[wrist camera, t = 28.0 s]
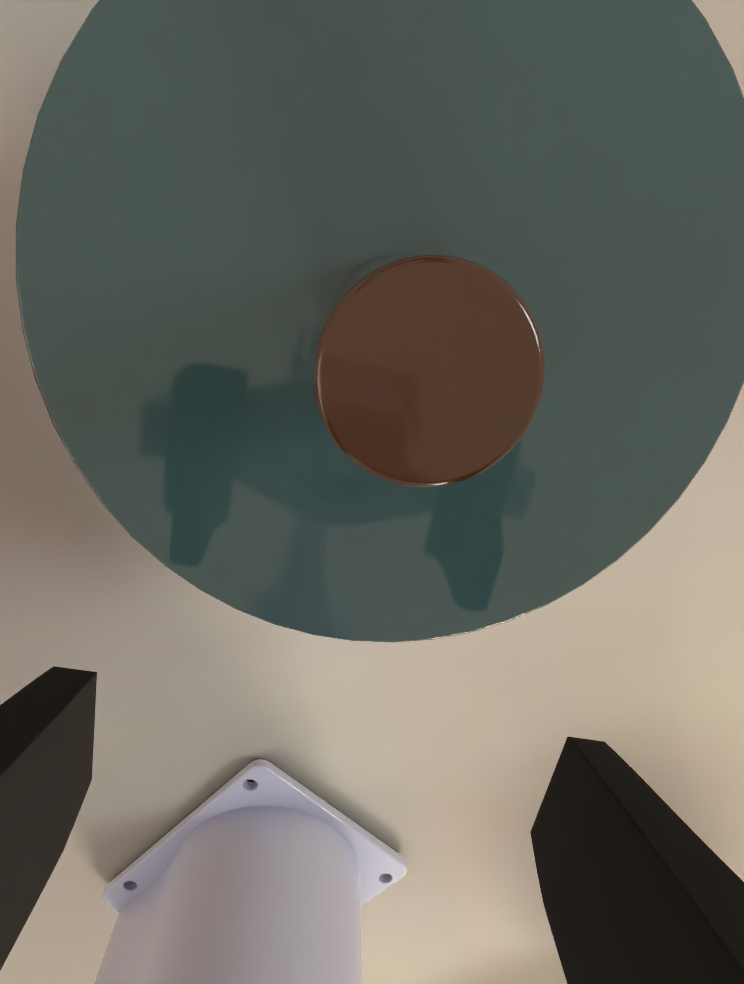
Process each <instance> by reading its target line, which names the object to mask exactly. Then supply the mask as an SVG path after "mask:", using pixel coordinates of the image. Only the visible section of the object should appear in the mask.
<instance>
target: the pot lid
mask: <svg viewBox="0 0 744 984" xmlns="http://www.w3.org/2000/svg"><path fill="white" fill-rule="evenodd" d="M16 282H17V290H18V298H19V305H20V313H21V321H22V328H23V333H24V337H25V341H26V345H27V349H28V353H29V356H30V360H31V364H32V368H33V372H34V376H35V380H36V382H37V385H38V387H39V390H40V392H41V395H42V397H43V400H44V402H45V405H46V407H47V410H48V412H49V415H50V417H51V420H52V422H53V425H54V427H55V429H56V431H57V432H58V434H59V436H60V438H61V440H62V442H63V443H64V445H65V447H66V449H67V451H68V453H69V454H70V456H71V458H72V460H73V462H74V464H75V466H76V467H77V469H78V470H79V471H80V473H81V474H82V476H83V477H84V478H85V480H86V481H87V483H88V484H89V486H90V487H91V488H92V490H93V491H94V493H95V494H96V495H97V497H98V498H99V500H100V501H101V502H102V504H103V505H104V506H105V507H106V508H107V509H108V511H109V512H110V513H111V514H112V515H113V516H114V517H115V518H116V519H117V521H118V522H119V523H120V524H121V525H122V526H123V527H124V528H125V529H126V531H127V532H128V533H129V534H130V535H131V536H132V537H133V538H134V539H135V540H136V541H137V542H139V543H140V544H141V545H142V546H143V547H144V548H145V549H147V550H148V551H149V552H150V553H151V554H152V555H153V556H155V557H156V558H157V559H158V560H159V561H160V562H161V563H163V564H164V565H165V566H166V567H168V568H169V569H170V570H172V571H173V572H175V573H176V574H178V575H179V576H181V577H182V578H184V579H185V580H186V581H188V582H189V583H191V584H192V585H194V586H195V587H197V588H198V589H199V590H201V591H203V592H205V593H207V594H209V595H211V596H212V597H214V598H216V599H218V600H220V601H222V602H224V603H226V604H227V605H229V606H231V607H233V608H235V609H237V610H239V611H242V612H245V613H247V614H250V615H252V616H255V617H257V618H260V619H262V620H265V621H267V622H270V623H272V624H275V625H279V626H283V627H286V628H290V629H294V630H297V631H301V632H305V633H309V634H312V635H318V636H325V637H331V638H338V639H345V640H351V641H372V642H404V641H417V640H431V639H437V638H443V637H448V636H454V635H459V634H464V633H470V632H474V631H477V630H480V629H484V628H487V627H490V626H494V625H497V624H500V623H504V622H507V621H510V620H513V619H515V618H517V617H520V616H522V615H524V614H527V613H529V612H531V611H534V610H536V609H538V608H541V607H543V606H545V605H548V604H549V603H551V602H553V601H555V600H557V599H558V598H560V597H562V596H564V595H566V594H567V593H569V592H571V591H573V590H574V589H576V588H578V587H580V586H582V585H583V584H585V583H586V582H588V581H589V580H590V579H592V578H593V577H595V576H596V575H597V574H599V573H600V572H602V571H603V570H604V569H606V568H607V567H609V566H610V565H611V564H613V563H614V562H616V561H617V560H618V559H619V558H620V557H622V556H623V555H624V554H625V553H626V552H627V551H628V550H629V549H630V548H632V547H633V546H634V545H635V544H636V543H637V542H638V541H639V540H641V539H642V538H643V537H644V536H645V535H646V534H647V533H648V532H649V531H650V530H651V529H652V528H653V527H654V526H655V525H656V524H657V523H658V521H659V520H660V519H661V518H662V517H663V516H664V515H665V514H666V512H667V511H668V510H669V509H670V508H671V507H672V506H673V505H674V504H675V502H676V501H677V500H678V499H679V498H680V496H681V495H682V494H683V492H684V491H685V489H686V488H687V487H688V485H689V484H690V482H691V481H692V480H693V478H694V477H695V475H696V474H697V473H698V471H699V470H700V468H701V467H702V466H703V464H704V463H705V461H706V459H707V458H708V456H709V454H710V452H711V450H712V449H713V447H714V445H715V443H716V441H717V440H718V438H719V436H720V434H721V432H722V431H723V429H724V427H725V425H726V423H727V422H728V419H729V417H730V415H731V412H732V410H733V407H734V405H735V403H736V400H737V398H738V395H739V393H740V390H741V388H742V386H743V383H744V97H743V95H742V92H741V89H740V86H739V84H738V81H737V78H736V76H735V73H734V70H733V68H732V66H731V64H730V63H729V61H728V59H727V57H726V55H725V53H724V52H723V50H722V48H721V46H720V44H719V42H718V41H717V39H716V37H715V35H714V33H713V31H712V29H711V28H710V26H709V24H708V22H707V20H706V19H705V17H704V16H703V15H702V13H701V12H700V11H699V9H698V8H697V7H696V5H695V4H694V3H693V1H692V0H99V1H98V3H97V4H96V5H95V6H94V7H93V9H92V10H91V12H90V13H89V15H88V17H87V18H86V20H85V22H84V23H83V25H82V27H81V28H80V30H79V31H78V33H77V35H76V36H75V38H74V40H73V41H72V43H71V45H70V46H69V48H68V50H67V51H66V53H65V54H64V56H63V58H62V59H61V61H60V64H59V66H58V68H57V71H56V73H55V75H54V78H53V80H52V83H51V85H50V87H49V90H48V92H47V94H46V97H45V99H44V101H43V104H42V106H41V108H40V111H39V113H38V116H37V120H36V124H35V127H34V131H33V135H32V138H31V142H30V146H29V149H28V153H27V157H26V161H25V164H24V168H23V174H22V182H21V190H20V197H19V205H18V213H17V220H16Z"/></svg>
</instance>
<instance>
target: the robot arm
mask: <svg viewBox="0 0 744 984" xmlns="http://www.w3.org/2000/svg"><path fill="white" fill-rule="evenodd" d="M96 679H97V672H91V671H83V670H76V669H69V668H61V667H52V668H51V669H49V670H48V671H46V672H45V673H43V674H42V675H41V676H39V677H38V678H36V679H35V680H34V681H32V682H31V683H30V684H28V685H27V686H25V687H24V688H23V689H21V690H20V691H19V692H17V693H16V694H15V695H13V696H12V697H11V698H9V699H8V700H7V701H5V702H4V703H3V704H1V705H0V970H1V968H2V966H3V964H4V962H5V961H6V959H7V957H8V955H9V953H10V951H11V949H12V947H13V946H14V944H15V942H16V940H17V938H18V936H19V934H20V932H21V930H22V929H23V927H24V925H25V923H26V921H27V919H28V917H29V915H30V914H31V912H32V910H33V908H34V906H35V904H36V902H37V900H38V898H39V896H40V894H41V893H42V891H43V889H44V887H45V885H46V883H47V881H48V879H49V877H50V875H51V873H52V872H53V870H54V868H55V866H56V864H57V862H58V860H59V858H60V856H61V854H62V852H63V850H64V847H65V845H66V843H67V840H68V838H69V835H70V833H71V830H72V828H73V826H74V823H75V821H76V818H77V816H78V813H79V811H80V808H81V805H82V803H83V800H84V798H85V795H86V793H87V790H88V788H89V785H90V782H91V780H92V761H93V741H94V720H95V700H96ZM247 780H254V781H255V782H249V781H247ZM531 838H532V844H533V850H534V856H535V862H536V867H537V873H538V878H539V883H540V888H541V893H542V898H543V903H544V907H545V910H546V914H547V917H548V921H549V924H550V927H551V931H552V934H553V937H554V941H555V944H556V947H557V951H558V954H559V957H560V961H561V964H562V967H563V971H564V974H565V977H566V980H567V983H568V984H744V882H743V881H742V880H741V879H740V878H739V877H738V876H737V875H736V874H735V873H734V872H733V871H732V870H731V869H730V868H729V867H728V866H727V865H726V864H725V863H724V862H723V861H722V860H721V859H720V858H719V857H718V856H717V855H716V854H715V853H714V852H713V851H712V850H711V849H710V848H709V847H708V846H707V845H706V844H705V843H704V842H703V841H702V840H701V839H700V838H699V837H698V836H697V835H696V834H695V833H694V832H693V831H692V830H691V829H690V828H689V827H688V826H687V825H686V824H685V823H684V822H683V821H682V820H681V818H680V817H679V816H678V815H677V814H676V813H675V812H674V811H673V810H672V809H671V808H670V807H669V806H668V805H667V804H666V803H665V802H664V801H663V800H662V799H661V798H660V797H659V796H658V795H657V794H656V793H655V792H654V791H653V790H652V788H651V787H650V786H649V785H648V784H647V783H646V782H645V781H644V780H643V779H642V778H641V777H640V776H639V775H638V774H637V773H636V772H635V771H634V770H633V769H632V768H631V767H630V766H629V765H628V764H627V763H626V762H625V761H624V760H623V759H622V758H621V757H620V756H619V755H618V754H617V753H616V752H615V751H614V750H613V749H612V748H611V747H609V746H608V745H607V744H606V743H605V742H602V741H595V740H588V739H580V738H573V737H567V740H566V742H565V745H564V747H563V750H562V752H561V755H560V758H559V760H558V763H557V765H556V768H555V770H554V773H553V776H552V778H551V781H550V783H549V786H548V788H547V791H546V794H545V796H544V799H543V801H542V804H541V806H540V809H539V812H538V814H537V817H536V819H535V822H534V824H533V827H532V830H531ZM406 872H407V863H406V859H405V858H404V857H403V856H401V855H400V854H399V853H397V852H396V851H394V850H393V849H391V848H390V847H389V846H387V845H386V844H384V843H383V842H382V841H380V840H379V839H377V838H376V837H375V836H373V835H372V834H370V833H369V832H368V831H366V830H365V829H363V828H362V827H361V826H359V825H358V824H356V823H355V822H353V821H352V820H351V819H349V818H348V817H346V816H345V815H344V814H342V813H341V812H339V811H338V810H337V809H335V808H334V807H332V806H331V805H330V804H328V803H327V802H325V801H324V800H323V799H321V798H320V797H318V796H317V795H315V794H314V793H313V792H311V791H310V790H308V789H307V788H306V787H304V786H303V785H301V784H300V783H299V782H297V781H296V780H294V779H293V778H292V777H290V776H289V775H287V774H286V773H285V772H283V771H282V770H280V769H279V768H277V767H276V766H275V765H273V764H272V763H270V762H269V761H266V760H262V759H258V760H254V761H252V762H250V763H249V764H248V765H247V766H246V767H245V768H243V769H242V770H241V771H240V772H239V773H238V774H236V775H235V776H234V777H233V778H232V779H230V780H229V781H228V782H227V783H226V784H225V785H223V786H222V787H221V788H220V789H219V790H218V791H216V792H215V793H214V794H213V795H212V796H211V797H209V798H208V799H207V800H206V801H205V802H203V803H202V804H201V805H200V806H199V807H198V808H196V809H195V810H194V811H193V812H192V813H191V814H189V815H188V816H187V817H186V818H185V819H184V820H182V821H181V822H180V823H179V824H178V825H176V826H175V827H174V828H173V829H172V830H171V831H169V832H168V833H167V834H166V835H165V836H164V837H162V838H161V839H160V840H159V841H158V842H156V843H155V844H154V845H153V846H152V847H151V848H149V849H148V850H147V851H146V852H145V853H144V854H142V855H141V856H140V857H139V858H138V859H137V860H135V861H134V862H133V863H132V864H131V865H129V866H128V867H127V868H126V869H125V870H124V871H122V872H121V873H120V874H119V875H118V876H117V877H115V878H114V879H113V880H112V881H111V882H110V883H108V884H107V885H106V887H105V889H104V892H103V894H102V899H103V901H104V902H105V903H106V904H107V905H109V906H110V907H112V908H114V909H116V910H117V911H119V915H118V918H117V921H116V924H115V927H114V929H113V932H112V935H111V938H110V941H109V944H108V947H107V949H106V952H105V955H104V958H103V961H102V964H101V967H100V969H99V972H98V975H97V978H96V981H95V984H362V961H361V907H362V906H363V905H365V904H366V903H368V902H369V901H370V900H372V899H373V898H374V897H376V896H377V895H379V894H380V893H381V892H383V891H384V890H386V889H387V888H388V887H390V886H391V885H392V884H394V883H395V882H397V881H398V880H399V879H401V878H402V877H403V876H404V875H405V874H406Z"/></svg>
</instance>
